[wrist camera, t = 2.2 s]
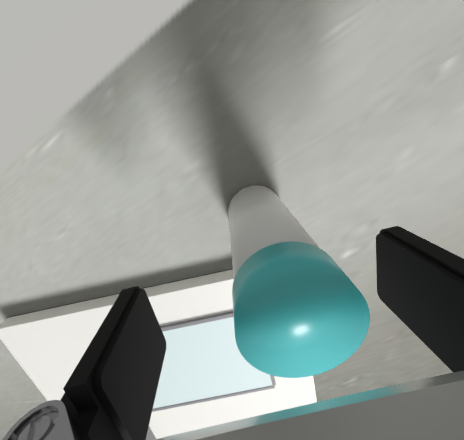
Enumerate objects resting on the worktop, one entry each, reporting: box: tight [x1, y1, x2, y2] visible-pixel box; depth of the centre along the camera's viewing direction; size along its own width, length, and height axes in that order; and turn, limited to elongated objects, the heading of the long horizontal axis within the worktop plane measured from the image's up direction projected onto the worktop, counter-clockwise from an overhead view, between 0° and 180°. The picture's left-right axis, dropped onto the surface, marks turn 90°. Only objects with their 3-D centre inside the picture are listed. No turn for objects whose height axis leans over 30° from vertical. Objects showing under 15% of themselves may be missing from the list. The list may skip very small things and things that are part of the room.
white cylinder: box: [228, 185, 370, 378], centre depth 12 cm, size 4×4×10 cm
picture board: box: [0, 269, 317, 440], centre depth 21 cm, size 22×20×2 cm
